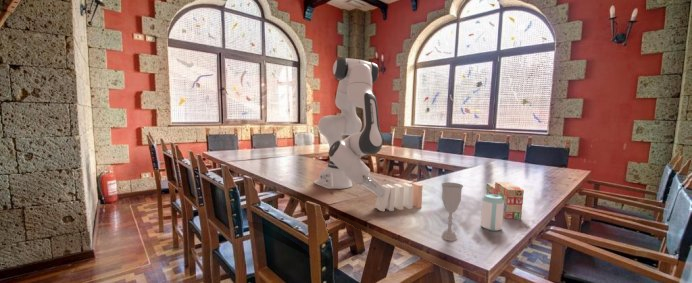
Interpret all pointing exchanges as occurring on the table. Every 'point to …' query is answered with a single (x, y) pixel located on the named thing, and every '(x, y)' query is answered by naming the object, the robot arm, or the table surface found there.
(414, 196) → the domino
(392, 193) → the domino
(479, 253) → the table surface
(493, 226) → the can
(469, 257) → the table surface
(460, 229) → the table surface
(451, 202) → the chalice
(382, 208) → the domino
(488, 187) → the stack of blocks
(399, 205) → the domino
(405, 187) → the domino
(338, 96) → the robot arm
